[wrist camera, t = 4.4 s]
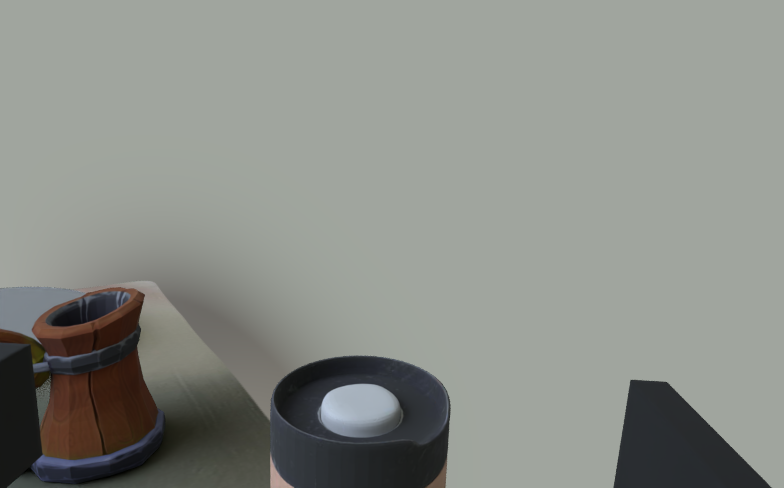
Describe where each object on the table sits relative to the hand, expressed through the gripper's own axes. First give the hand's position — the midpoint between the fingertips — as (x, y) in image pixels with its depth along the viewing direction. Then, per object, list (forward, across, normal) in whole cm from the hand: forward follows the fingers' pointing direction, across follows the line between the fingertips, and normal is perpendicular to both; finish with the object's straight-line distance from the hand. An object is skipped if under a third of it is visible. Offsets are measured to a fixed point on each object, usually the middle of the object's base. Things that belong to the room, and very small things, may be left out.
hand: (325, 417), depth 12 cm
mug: (+31, -29, -25) cm, 49 cm away
